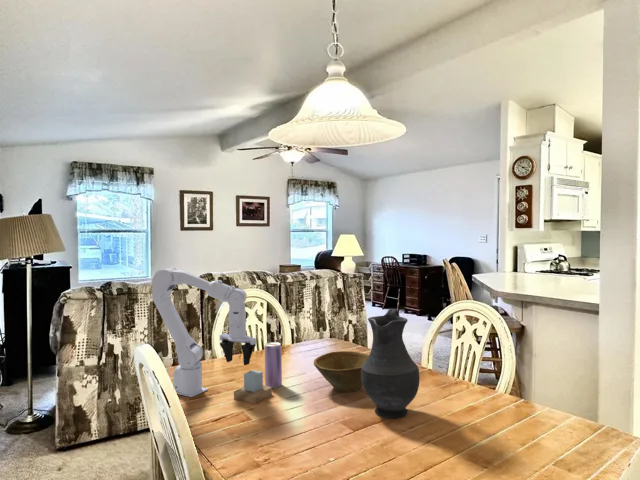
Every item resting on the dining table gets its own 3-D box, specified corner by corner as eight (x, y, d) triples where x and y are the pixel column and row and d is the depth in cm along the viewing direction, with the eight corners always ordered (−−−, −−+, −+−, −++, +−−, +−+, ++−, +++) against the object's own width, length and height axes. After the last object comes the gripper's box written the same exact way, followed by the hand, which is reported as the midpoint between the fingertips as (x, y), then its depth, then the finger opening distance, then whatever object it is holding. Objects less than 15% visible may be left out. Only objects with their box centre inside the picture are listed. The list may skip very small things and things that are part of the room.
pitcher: (355, 419, 127) (353, 316, 126) (371, 394, 146) (370, 305, 146) (415, 427, 121) (414, 319, 120) (424, 401, 140) (423, 307, 140)
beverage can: (279, 389, 153) (278, 346, 153) (262, 388, 154) (262, 345, 154) (283, 383, 159) (283, 342, 159) (268, 382, 160) (267, 341, 160)
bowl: (304, 382, 159) (304, 355, 159) (359, 374, 168) (359, 348, 168) (329, 403, 139) (328, 372, 139) (390, 392, 148) (390, 363, 148)
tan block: (233, 400, 144) (233, 391, 144) (250, 391, 152) (250, 383, 152) (256, 405, 140) (255, 395, 140) (271, 396, 148) (271, 387, 148)
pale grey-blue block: (244, 390, 145) (244, 373, 145) (252, 386, 149) (252, 370, 149) (254, 392, 143) (254, 375, 143) (262, 388, 147) (262, 371, 147)
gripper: (213, 324, 151) (214, 363, 151) (246, 328, 144) (247, 368, 144) (227, 320, 157) (227, 358, 157) (259, 324, 150) (260, 363, 150)
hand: (237, 362), depth 151 cm, fingers open, 7 cm apart
